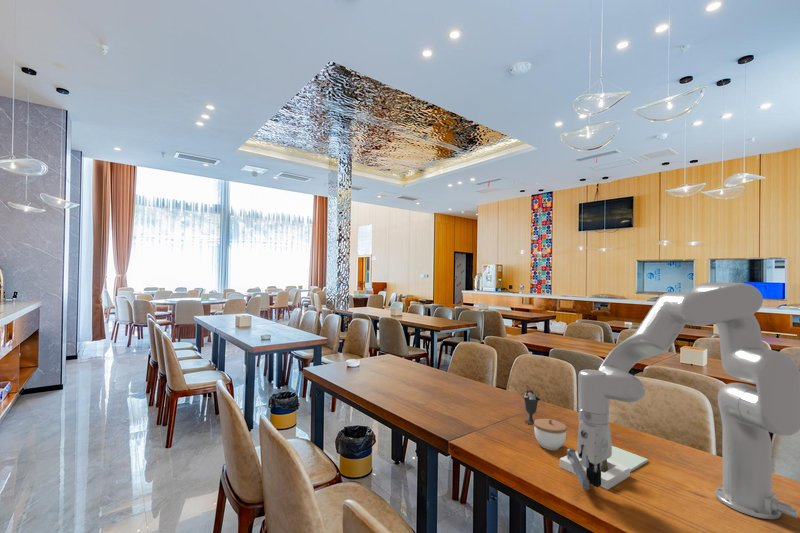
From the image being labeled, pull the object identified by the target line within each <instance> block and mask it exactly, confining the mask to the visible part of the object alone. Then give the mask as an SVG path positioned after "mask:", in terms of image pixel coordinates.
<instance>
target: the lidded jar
mask: <svg viewBox="0 0 800 533" xmlns="http://www.w3.org/2000/svg"><path fill="white" fill-rule="evenodd" d="M533 421H534V425H533V426H534V430H533V431H534V436H535V438H536V440H537V442H538V443H539V445H540V446H541V447H542V448H543V449H545V450H548V451H559V450H560V448H561V447H563V445H565V443H566V439H567V430H568V427H567V425H566V424H565V423H563V422H561V421H558V420H555V419H552V418H537V419H535V420H533Z"/></svg>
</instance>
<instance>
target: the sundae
mask: <svg viewBox="0 0 800 533" xmlns="http://www.w3.org/2000/svg"><path fill="white" fill-rule="evenodd" d="M525 387H526V391H525V392H526V393H524V395H523V396H522V398H523V400H524V405H525V406H524V407H525V411H526V413H528V416H529V417H528V419H526V420H524V421H525V422H526V423H525V422H524V423H525V424H527V423H528V424H527V425H530V424H534V421H535V420H534V419H533V415H534V414H535V413H536V412H537V409H538V403H539V401H541V399H540V397H539V396H540V394H539V393H538V395H537V393H535V391H533V390H532V389H530V387H529V386H528V385H525Z"/></svg>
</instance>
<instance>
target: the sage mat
mask: <svg viewBox="0 0 800 533" xmlns="http://www.w3.org/2000/svg"><path fill="white" fill-rule="evenodd" d="M608 459H609V460H612V461H614V462H617V463H619V464H622V465H624V466H626V467H629V468H630V473H631V472H633V471H635V470H636V469H638V468H640V467H642V466H643V465H645V464H646V463H648V462H649V459H648V458H645V457H644V456H642V455H641V456H640V455H638V454H636V453H634V452H633V453H632V452H630V451H627V450H625V449H622V448H619V447H617V446H614V445H612V455H611V457H610V458H608Z"/></svg>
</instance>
